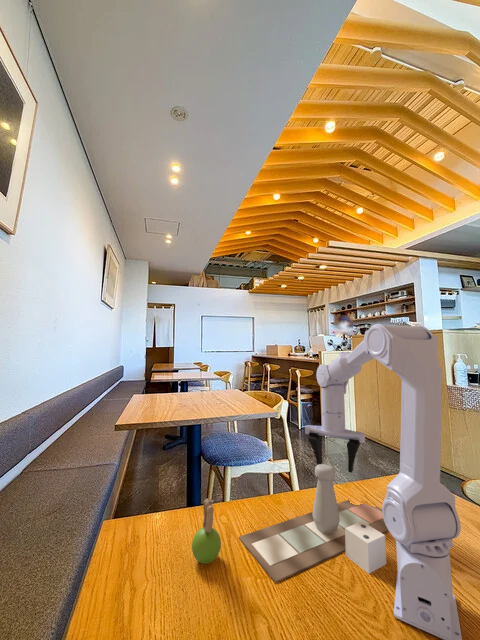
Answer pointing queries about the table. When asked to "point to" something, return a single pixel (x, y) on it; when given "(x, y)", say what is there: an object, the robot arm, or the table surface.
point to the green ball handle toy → (206, 537)
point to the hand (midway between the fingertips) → (334, 467)
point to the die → (365, 546)
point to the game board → (306, 540)
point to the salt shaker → (325, 501)
